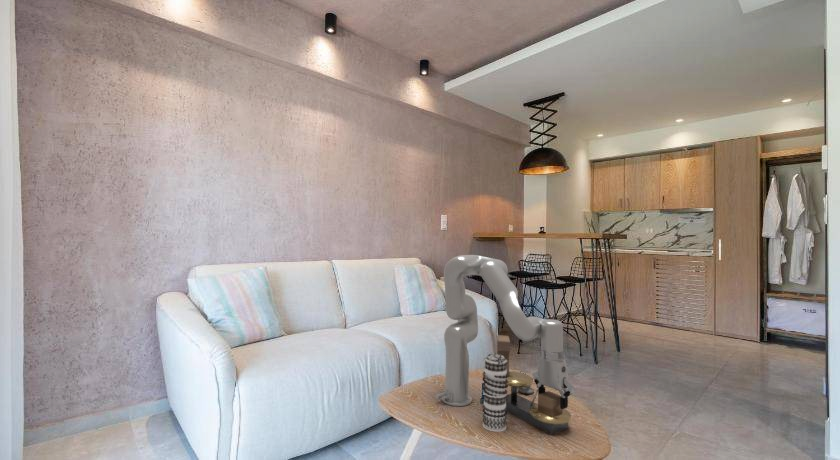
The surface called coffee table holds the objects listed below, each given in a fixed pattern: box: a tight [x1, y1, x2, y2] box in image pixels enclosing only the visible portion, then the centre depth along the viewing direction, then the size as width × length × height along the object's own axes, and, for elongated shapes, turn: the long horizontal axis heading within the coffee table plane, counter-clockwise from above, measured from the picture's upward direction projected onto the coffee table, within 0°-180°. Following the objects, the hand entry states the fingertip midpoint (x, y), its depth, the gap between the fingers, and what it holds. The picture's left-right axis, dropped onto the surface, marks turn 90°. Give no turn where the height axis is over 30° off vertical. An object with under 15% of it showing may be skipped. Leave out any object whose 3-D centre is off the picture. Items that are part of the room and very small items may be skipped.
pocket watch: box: [517, 370, 535, 395], centre depth 168 cm, size 8×8×10 cm
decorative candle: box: [482, 353, 509, 433], centre depth 137 cm, size 9×9×25 cm
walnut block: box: [537, 390, 563, 418], centre depth 137 cm, size 6×6×6 cm
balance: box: [506, 370, 572, 436], centre depth 145 cm, size 14×31×12 cm, turn 34°
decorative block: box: [496, 334, 511, 372], centre depth 181 cm, size 11×6×20 cm, turn 170°
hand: (552, 403), depth 137 cm, fingers open, 9 cm apart
